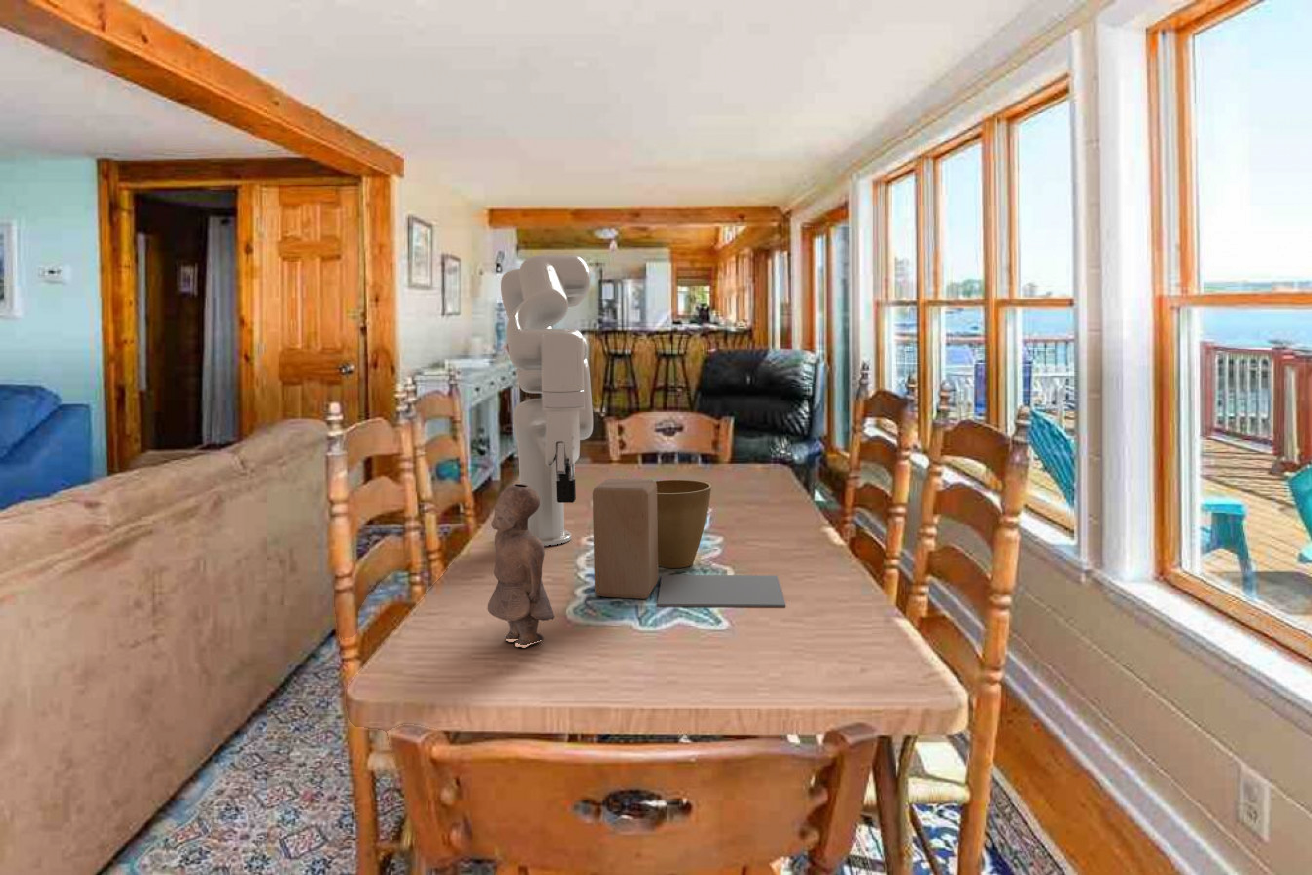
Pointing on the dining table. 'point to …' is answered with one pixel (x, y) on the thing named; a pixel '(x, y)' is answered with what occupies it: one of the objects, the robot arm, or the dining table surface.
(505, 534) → the clay figurine
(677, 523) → the plant pot
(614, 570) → the block
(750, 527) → the dining table surface
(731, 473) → the dining table surface
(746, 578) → the mat
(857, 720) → the dining table surface
